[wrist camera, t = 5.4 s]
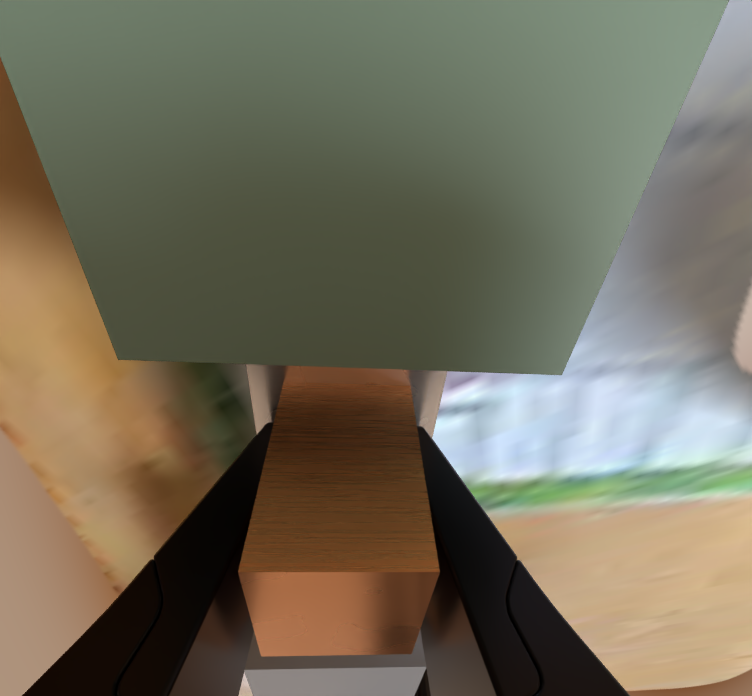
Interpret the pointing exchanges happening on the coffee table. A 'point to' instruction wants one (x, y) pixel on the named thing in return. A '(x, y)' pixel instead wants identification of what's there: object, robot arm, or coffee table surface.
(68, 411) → the coffee table surface
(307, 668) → the sleeve
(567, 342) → the socket
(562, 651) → the robot arm
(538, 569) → the coffee table surface
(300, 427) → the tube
